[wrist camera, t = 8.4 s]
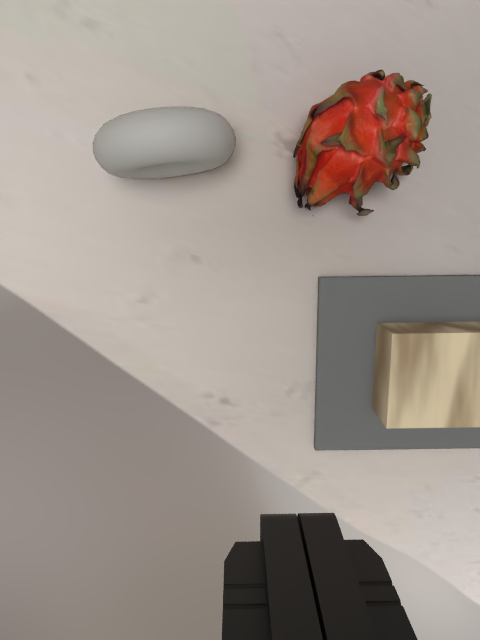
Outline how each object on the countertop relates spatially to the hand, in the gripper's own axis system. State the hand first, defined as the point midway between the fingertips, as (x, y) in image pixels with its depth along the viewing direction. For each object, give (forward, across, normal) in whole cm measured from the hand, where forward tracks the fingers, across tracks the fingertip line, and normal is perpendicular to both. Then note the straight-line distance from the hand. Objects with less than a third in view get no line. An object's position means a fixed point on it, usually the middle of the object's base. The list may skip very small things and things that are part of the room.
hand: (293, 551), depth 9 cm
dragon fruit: (+31, -8, -12) cm, 34 cm away
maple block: (+28, -11, +6) cm, 31 cm away
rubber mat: (+31, -14, +6) cm, 35 cm away
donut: (+31, +6, -12) cm, 34 cm away
